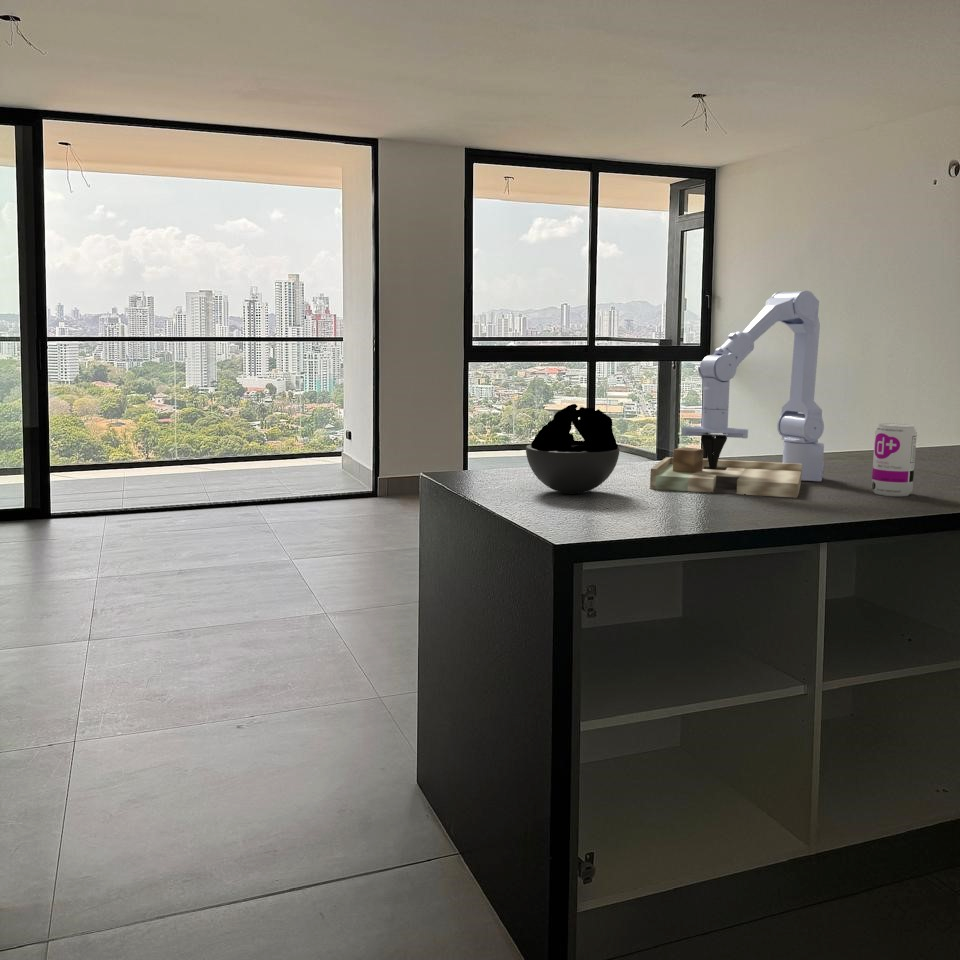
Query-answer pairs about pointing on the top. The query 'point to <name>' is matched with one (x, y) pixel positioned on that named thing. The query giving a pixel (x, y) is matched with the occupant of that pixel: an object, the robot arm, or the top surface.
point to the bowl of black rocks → (574, 451)
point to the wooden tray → (731, 478)
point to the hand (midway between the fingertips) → (713, 468)
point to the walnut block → (688, 460)
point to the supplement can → (894, 459)
